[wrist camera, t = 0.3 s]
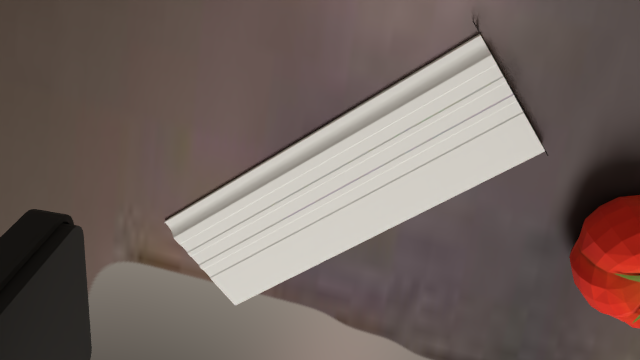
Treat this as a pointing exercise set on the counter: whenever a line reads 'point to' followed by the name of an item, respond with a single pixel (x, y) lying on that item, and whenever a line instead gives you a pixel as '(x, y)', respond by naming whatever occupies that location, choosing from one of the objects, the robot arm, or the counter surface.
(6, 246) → the robot arm
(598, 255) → the tomato
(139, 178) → the counter surface
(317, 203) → the baseboard molding
